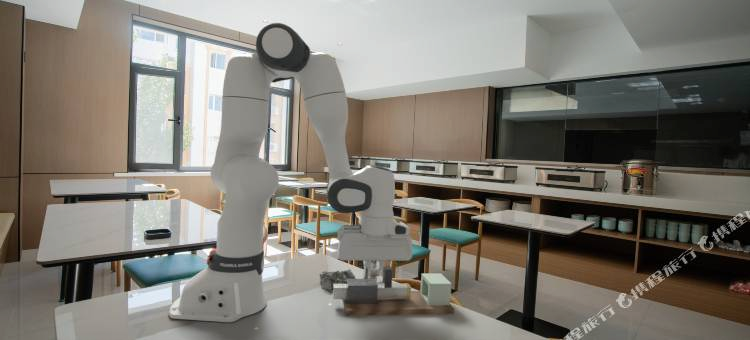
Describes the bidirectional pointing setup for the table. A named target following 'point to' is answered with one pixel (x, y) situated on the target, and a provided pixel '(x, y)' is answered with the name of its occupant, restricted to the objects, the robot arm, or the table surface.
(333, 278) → the egg carton
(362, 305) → the base board
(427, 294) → the socket
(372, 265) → the beer glass
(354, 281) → the sleeve
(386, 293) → the light grey bar piece
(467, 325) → the table surface
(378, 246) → the robot arm
